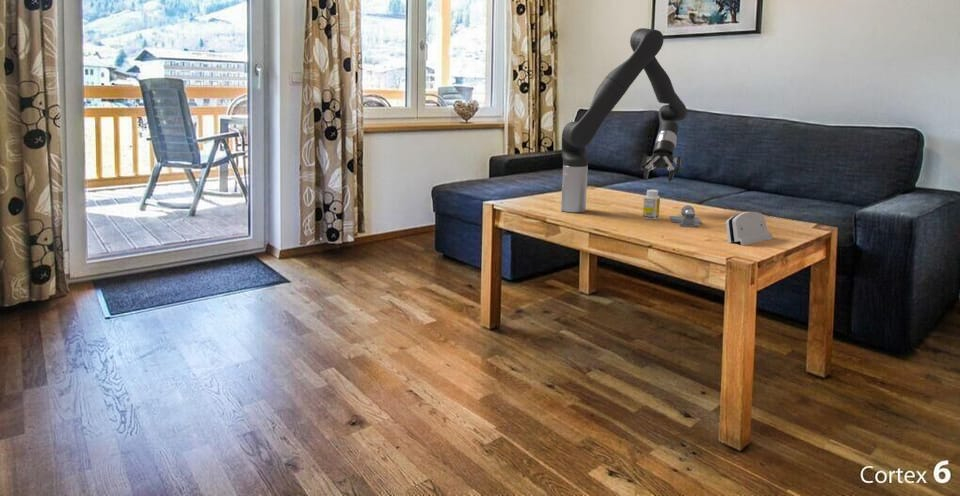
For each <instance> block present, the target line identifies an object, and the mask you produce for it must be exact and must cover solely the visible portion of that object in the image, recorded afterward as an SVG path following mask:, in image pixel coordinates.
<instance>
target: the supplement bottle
mask: <svg viewBox="0 0 960 496" xmlns="http://www.w3.org/2000/svg"><path fill="white" fill-rule="evenodd" d="M660 202H661V197H660V195H659V190H658V189H647V190H646V195H644V196H643V208H642V209H643V210H642V211H643V212H642V217H643V219H645V220H653V221H654V220H655V221H656V220H658V219H659V215H660V204H661V203H660Z"/></svg>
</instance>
